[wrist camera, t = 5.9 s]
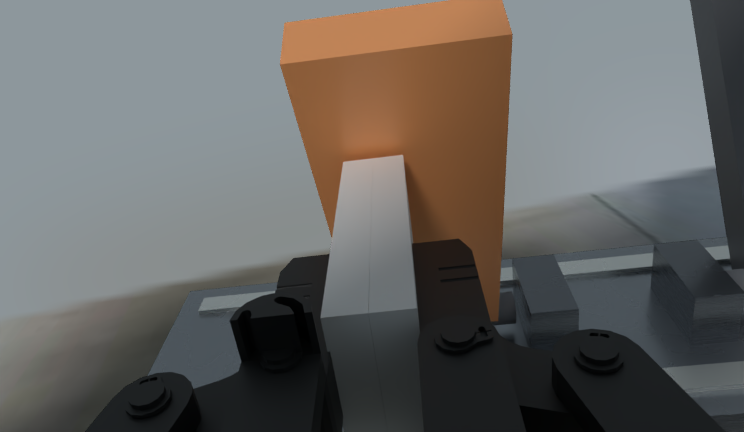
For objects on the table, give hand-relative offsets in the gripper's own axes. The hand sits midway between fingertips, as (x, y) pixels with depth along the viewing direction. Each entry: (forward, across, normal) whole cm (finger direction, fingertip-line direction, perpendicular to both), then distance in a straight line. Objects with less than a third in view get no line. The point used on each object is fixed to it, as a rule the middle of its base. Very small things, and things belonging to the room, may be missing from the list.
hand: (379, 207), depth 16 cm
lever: (+5, +1, -7) cm, 8 cm away
